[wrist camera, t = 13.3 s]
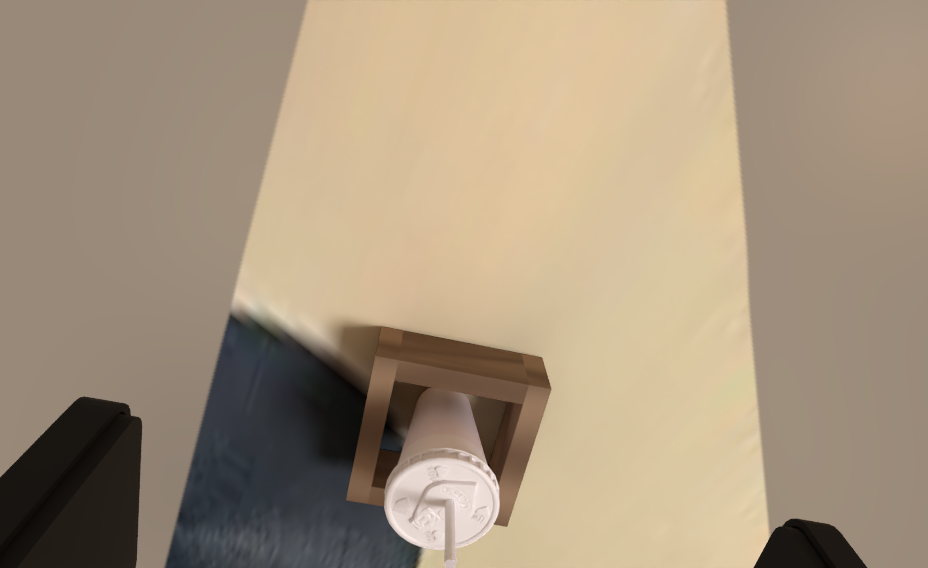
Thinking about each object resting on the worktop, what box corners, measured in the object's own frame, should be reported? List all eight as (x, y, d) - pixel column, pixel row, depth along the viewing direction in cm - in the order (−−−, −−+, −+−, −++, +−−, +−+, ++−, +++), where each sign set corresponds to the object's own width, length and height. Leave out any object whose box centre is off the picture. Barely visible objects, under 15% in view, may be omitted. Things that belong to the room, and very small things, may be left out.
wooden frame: (381, 326, 41) (375, 355, 37) (542, 357, 42) (551, 389, 38) (354, 461, 45) (346, 500, 41) (502, 486, 46) (507, 526, 42)
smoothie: (508, 413, 43) (534, 575, 30) (437, 462, 45) (433, 637, 32) (449, 349, 41) (450, 494, 28) (376, 403, 43) (346, 564, 30)
